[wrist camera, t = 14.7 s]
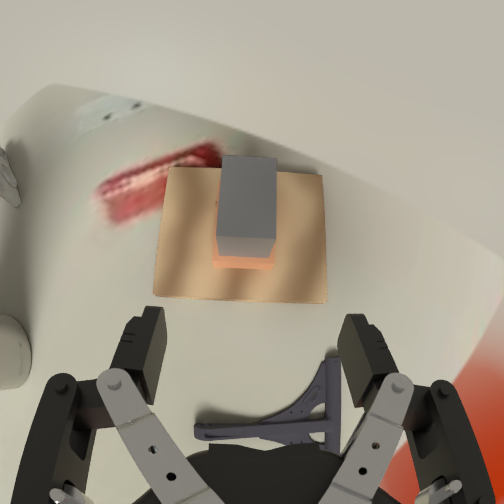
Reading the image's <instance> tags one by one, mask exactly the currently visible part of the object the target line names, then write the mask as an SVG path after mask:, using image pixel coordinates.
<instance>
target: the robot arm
mask: <svg viewBox="0 0 504 504" xmlns="http://www.w3.org/2000/svg"><path fill="white" fill-rule="evenodd" d="M166 345H167V329H166V322H165V315H164V309H163V307H157V306H146V307H145V309H144V311H143V314H142V317H136V316H134V317H133V318H132V319H131V320H130V321H129V322H128V323H127V324H126V326H125V329H124V331H123V334H122V336H121V339H120V342H119V344H118V347H117V349H116V352H115V355H114V357H113V360H112V363H111V366H110V368H109V369H108V370H105V371H104V372H102V373H101V374H100V375H99V377H98V378H97V379H94V380H86V381H76V380H75V378H74V377H73V376H72V375H70V374H67V373H59V374H56V375H54V376H52V377H51V378H50V379H49V380H48V382H47V384H46V386H45V389H44V392H43V394H42V397H41V400H40V402H39V405H38V408H37V411H36V414H35V416H34V419H33V422H32V425H31V428H30V431H29V435H28V438H27V441H26V444H25V448H24V451H23V455H22V458H21V462H20V465H19V469H18V473H17V477H16V481H15V486H14V490H13V495H12V499H11V504H94V503H93V501H92V500H91V499H90V498H89V497H87V496H86V495H85V490H86V484H87V478H88V472H89V466H90V461H91V455H92V450H93V445H94V440H95V436H96V431H97V429H100V428H110V427H116V429H117V431H118V433H119V435H120V436H121V438H122V440H123V442H124V444H125V446H126V447H127V449H128V451H129V453H130V454H131V456H132V458H133V460H134V461H135V463H136V465H137V466H138V468H139V469H140V471H141V473H142V474H143V476H144V477H145V479H146V481H147V482H148V484H149V485H150V487H151V488H150V489H149V490H148V491H147V492H145V493H144V494H143V495H142V496H141V497H140V498H138V499H137V500H136V501H135V502H134V503H132V504H401V503H400V502H398V501H397V500H396V499H394V498H393V497H391V496H390V495H389V494H388V493H386V492H385V491H384V490H383V489H381V488H380V487H379V484H380V482H381V480H382V478H383V476H384V474H385V472H386V470H387V468H388V465H389V463H390V461H391V459H392V456H393V454H394V452H395V449H396V447H397V445H398V442H399V440H400V437H401V435H402V432H403V430H405V432H406V436H407V439H408V443H409V446H410V451H411V455H412V458H413V462H414V466H415V470H416V475H417V479H418V483H419V488H420V493H419V494H418V495H417V497H416V499H415V504H495V502H496V501H495V495H494V492H493V488H492V485H491V481H490V478H489V475H488V472H487V469H486V466H485V463H484V460H483V457H482V454H481V451H480V448H479V445H478V443H477V440H476V437H475V435H474V432H473V430H472V427H471V424H470V422H469V419H468V417H467V414H466V412H465V409H464V407H463V405H462V402H461V400H460V398H459V396H458V393H457V391H456V389H455V387H454V386H453V385H452V384H451V383H450V382H448V381H445V380H437V381H435V382H433V383H432V385H431V386H430V387H426V386H419V385H414V384H413V383H412V381H411V380H410V379H409V378H408V377H407V376H406V375H404V374H401V373H399V371H398V369H397V366H396V364H395V362H394V360H393V357H392V355H391V353H390V351H389V349H388V346H387V344H386V342H385V340H384V338H383V335H382V333H381V332H380V331H379V330H378V329H377V328H376V327H375V326H374V325H369V324H368V322H367V319H366V317H365V315H364V314H347V315H346V316H345V319H344V322H343V325H342V328H341V331H340V334H339V337H338V343H337V347H338V353H339V356H340V359H341V362H342V366H343V369H344V372H345V376H346V379H347V383H348V386H349V390H350V393H351V397H352V400H353V404H354V407H355V408H358V407H364V411H365V412H364V414H363V415H362V417H361V419H360V421H359V423H358V425H357V426H356V428H355V430H354V432H353V434H352V436H351V437H350V439H349V441H348V443H347V444H346V446H345V448H344V449H343V451H342V452H341V454H340V455H338V454H336V453H334V452H331V451H328V450H324V449H320V447H319V442H313V443H299V444H291V445H287V446H283V447H279V448H276V449H272V450H267V451H263V450H258V449H253V448H249V447H244V446H240V445H233V444H211V443H209V450H205V451H201V452H197V453H194V454H192V455H190V456H188V457H186V458H185V456H184V455H183V454H182V452H181V451H180V450H179V448H178V447H177V445H176V444H175V443H174V441H173V440H172V438H171V437H170V435H169V434H168V433H167V431H166V430H165V428H164V427H163V425H162V424H161V422H160V421H159V419H158V418H157V416H156V415H155V414H154V413H152V412H151V411H150V409H149V407H148V406H147V404H148V405H153V404H154V399H155V394H156V389H157V385H158V380H159V376H160V371H161V367H162V362H163V358H164V354H165V350H166ZM30 367H31V350H30V345H29V341H28V338H27V335H26V333H25V331H24V329H23V328H22V326H21V325H20V324H19V322H17V321H16V320H15V319H14V318H12V317H10V316H7V315H2V314H0V390H7V389H14V388H18V387H19V386H21V385H22V384H23V383H24V382H25V381H26V379H27V377H28V375H29V371H30Z"/></svg>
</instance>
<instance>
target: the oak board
mask: <svg viewBox="0 0 504 504" xmlns="http://www.w3.org/2000/svg"><path fill="white" fill-rule="evenodd" d="M221 170H222V168H195V167H169V173H168V179H167V185H166V191H165V197H164V204H163V211H162V218H161V225H160V232H159V240H158V248H157V257H156V266H155V276H154V287H153V294H154V295H155V296H160V297H174V298H189V299H205V300H224V301H245V302H272V303H311V304H323V303H325V302H327V264H326V234H325V214H324V196H323V182H322V175H313V174H303V173H291V172H278V171H277V220H276V241H275V264H274V266H273V268H272V270H263V269H242V268H222V267H214V266H213V262H212V254H213V241H214V228H215V216H216V204H217V192H218V182H219V181H220V180H221Z"/></svg>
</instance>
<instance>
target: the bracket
mask: <svg viewBox="0 0 504 504" xmlns="http://www.w3.org/2000/svg"><path fill="white" fill-rule="evenodd" d="M321 403H325V417H323V418H319V419H312V420H308V417H309V414H310V412H311V411H312V410H313V408H314V407H316V406H317V405H319V404H321ZM290 412H291V413H290ZM315 432H325V444H319V447H320V449H324V450H328V451H331V452H334V453H336V454H338V455H340V433H341V359H340V357H336V358H325V362H322V363H321V365H320V367H319V370H318V372H317V374H316V376H315V378H314V380H313V382H312V383H311V385H310V387H309V388H308V389H307V391H306V392H305V393H304V394H303V395H302V397H301V398H300V399H299V400H298V401H297V402H295V403H294V404H293V405H292V406H291V407H289V408H288V409H286V410H284V411H283V412H281V413H279V414H277V415H275V416H272V417H269V418H267V419H263V420H261V421H259V423H255V424H195V425H194V436H195V438H196V439H199V440H203V441H213V440H226V439H239V438H251V437H259V438H260V439H265V440H270V441H275V442H278V443H281V444H284V445H286V446H287V445H291V444H299V443H313V441H312V440H311V439H310V438H309V435H308V433H315Z"/></svg>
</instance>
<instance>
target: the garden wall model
mask: <svg viewBox="0 0 504 504" xmlns="http://www.w3.org/2000/svg"><path fill="white" fill-rule="evenodd" d="M0 196H1V197H3V198H4V199H5V200H7V201H8V202H9V203H11V204H12V205H13V206H15V207H16V208H17V207H18V206H19V205H20V204H21V203H22V202H21V199H20V196H19V193H18V190H17V181H16V179H15V177H14V175H13V173H12V172H11V169H10V166H9V162H8V158H7V155H6V152H5V151H4V150H3V149H2V148H1V147H0Z"/></svg>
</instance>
